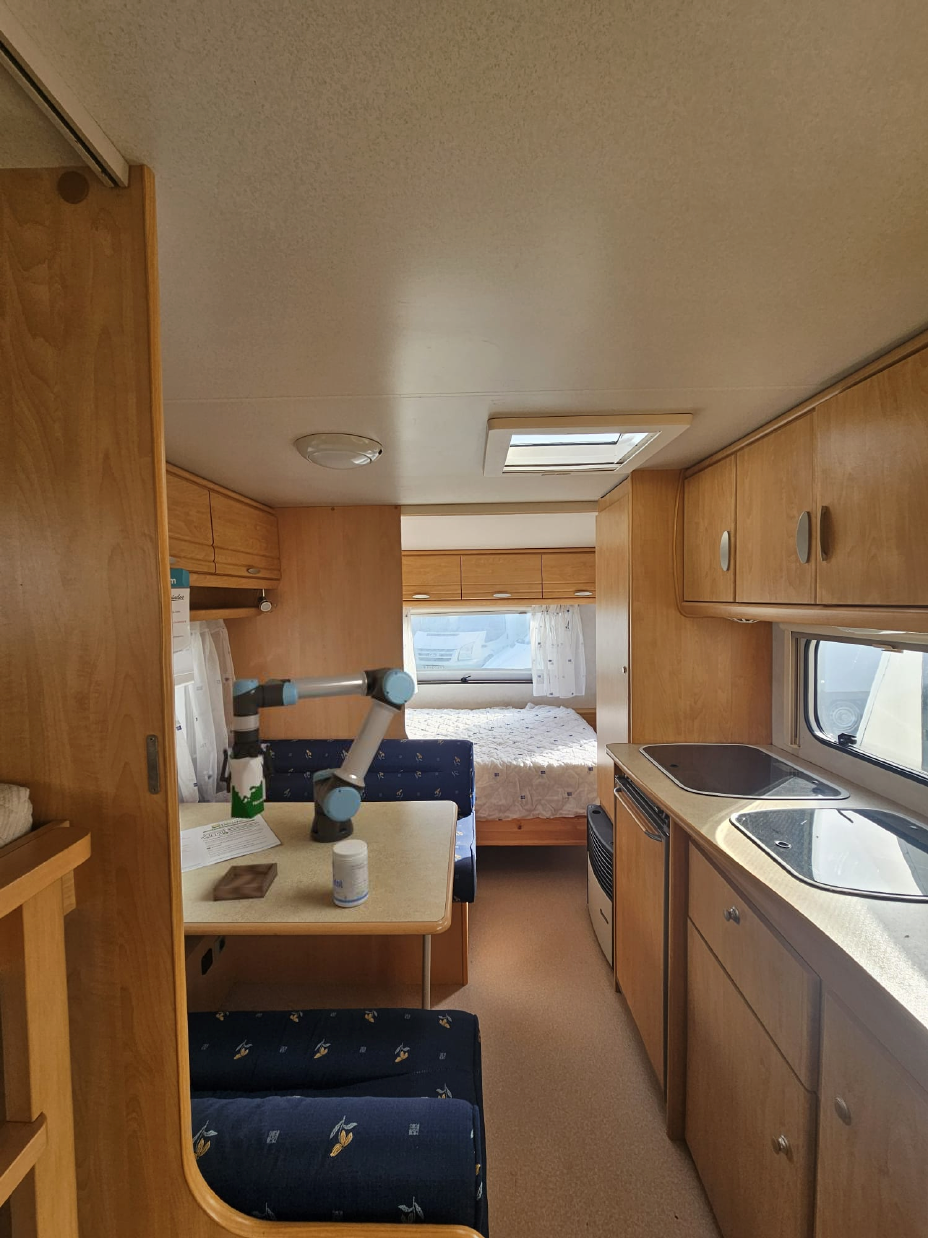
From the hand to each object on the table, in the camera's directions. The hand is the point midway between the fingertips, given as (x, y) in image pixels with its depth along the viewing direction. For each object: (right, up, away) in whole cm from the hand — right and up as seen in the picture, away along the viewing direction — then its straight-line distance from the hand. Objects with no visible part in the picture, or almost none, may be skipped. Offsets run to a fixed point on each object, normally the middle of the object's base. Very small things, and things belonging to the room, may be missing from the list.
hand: (248, 800), depth 164 cm
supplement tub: (+37, -20, -20) cm, 47 cm away
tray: (+4, -22, -11) cm, 25 cm away
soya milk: (0, -5, 0) cm, 5 cm away
